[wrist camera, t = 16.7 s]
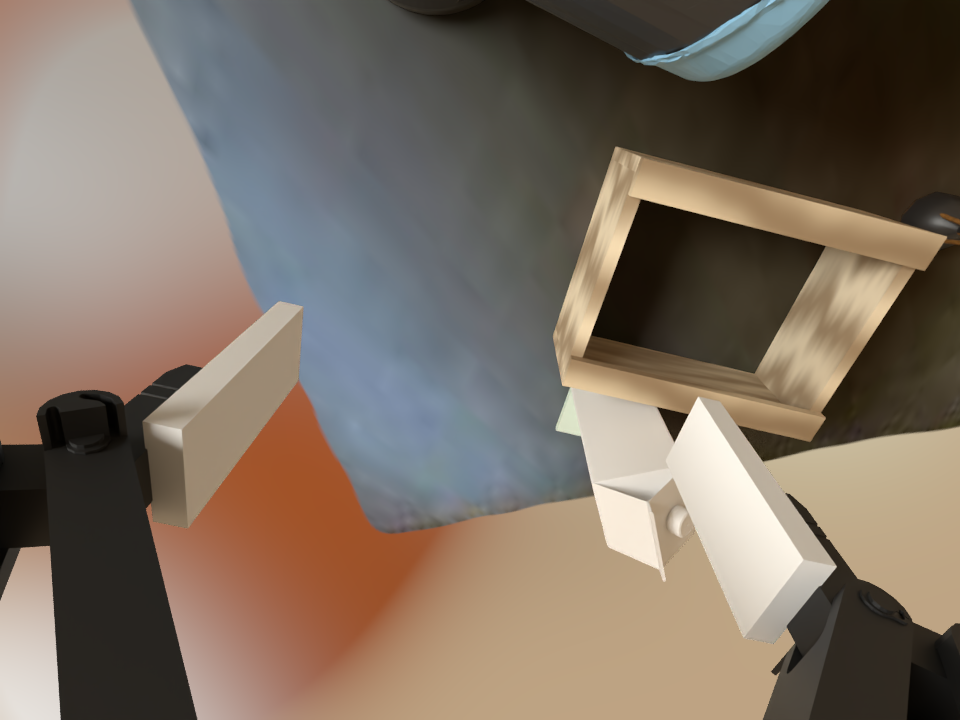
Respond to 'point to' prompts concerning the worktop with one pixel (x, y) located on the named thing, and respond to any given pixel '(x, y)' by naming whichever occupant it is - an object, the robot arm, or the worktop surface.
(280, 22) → the worktop surface
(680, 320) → the worktop surface
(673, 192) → the crate
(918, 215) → the wooden tabletop sculpture
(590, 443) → the milk carton
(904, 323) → the worktop surface
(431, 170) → the worktop surface
